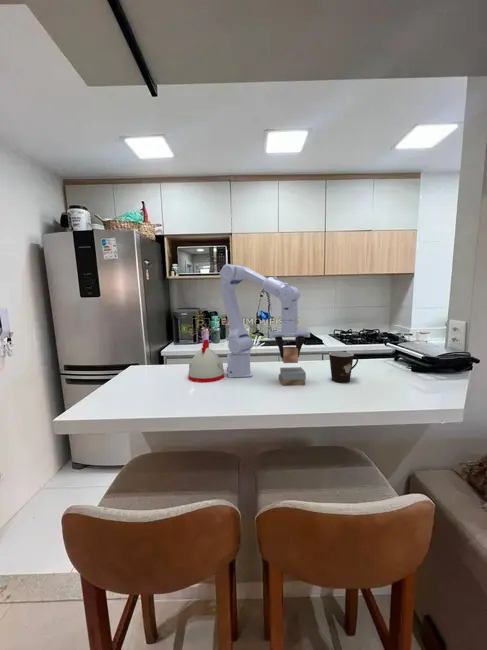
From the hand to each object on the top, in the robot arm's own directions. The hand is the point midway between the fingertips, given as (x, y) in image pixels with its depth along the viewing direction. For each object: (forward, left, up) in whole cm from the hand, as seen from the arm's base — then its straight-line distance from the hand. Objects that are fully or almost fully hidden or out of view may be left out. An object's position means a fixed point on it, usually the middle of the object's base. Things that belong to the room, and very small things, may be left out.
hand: (289, 357), depth 111 cm
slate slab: (+1, 0, -7) cm, 8 cm away
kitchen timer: (-31, +10, -10) cm, 34 cm away
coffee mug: (+21, 0, -10) cm, 23 cm away
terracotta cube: (0, 0, -2) cm, 2 cm away
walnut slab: (+1, 0, -10) cm, 10 cm away
